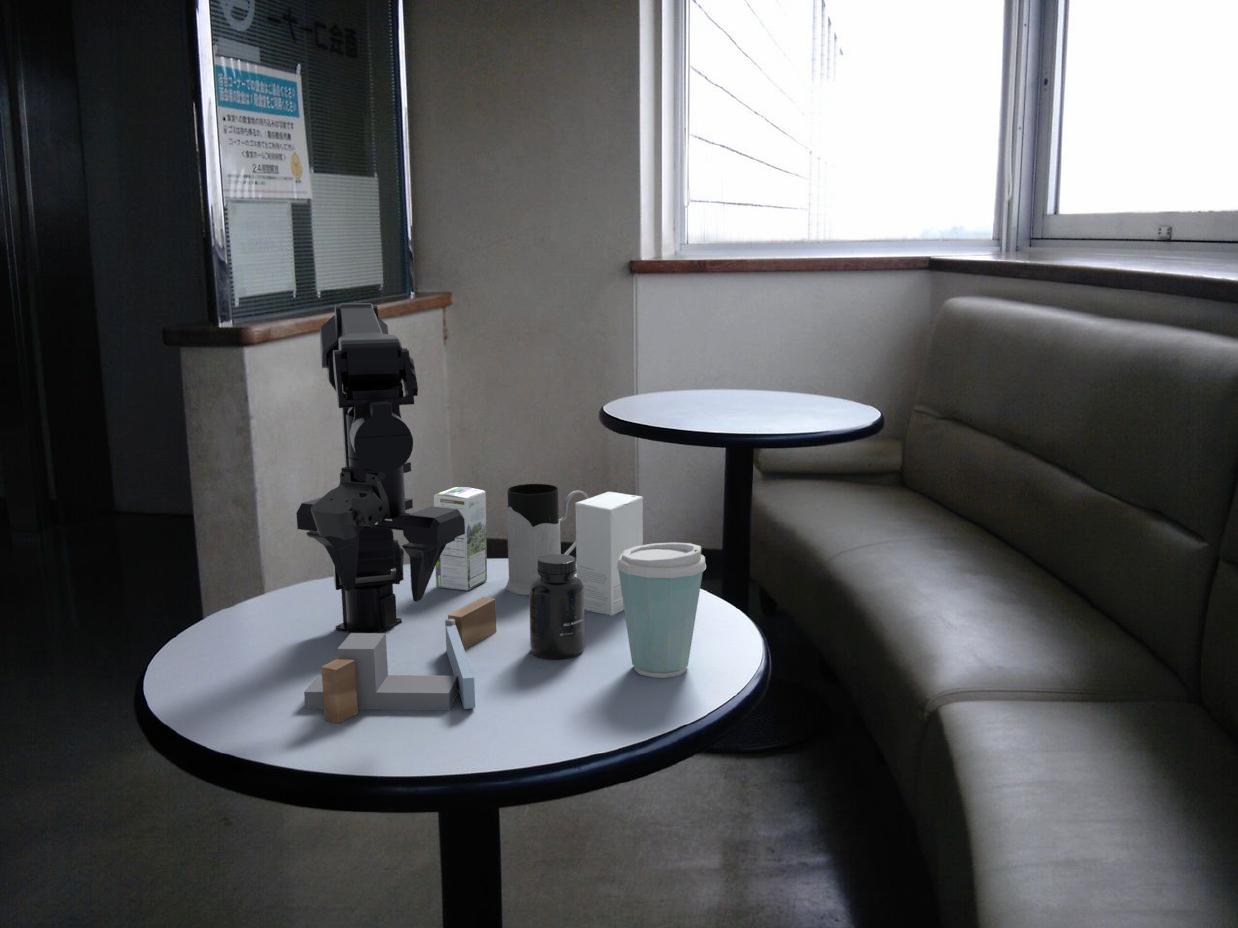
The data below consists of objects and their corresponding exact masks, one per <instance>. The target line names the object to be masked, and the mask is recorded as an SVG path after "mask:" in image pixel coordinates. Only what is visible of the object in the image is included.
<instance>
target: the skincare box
mask: <svg viewBox="0 0 1238 928" xmlns="http://www.w3.org/2000/svg"><path fill="white" fill-rule="evenodd" d="M574 504H575V541H576V547H575V552H576V553H575V559H576V569H577V573H576V577H577V578H578V579H580V580H581V582H582V583H583V585H584V611H588V612H592V613H596V614H602V615H606V616H610V617H612V616H615V615H617V614H619V613H620V612H623V611H624V604H623V598H622V591H621V584H620V577H619V570H618V569H617V565H618V559H619V556H620V554H622V553H623V552H624V550H627V549H630V548H632V547H635V546H640V545H644V544H643V543H644V541H643V540H644V539H643V537H644V530H643V527H644V526H643V525H644V523H643V520H644V517H643V516H644V515H643V512H644V511H643V509H644V508H643V506H644V496H641V495H635V494H634V495H633V494H627V493H626V494H625V493H621V492H615V491H614V492H613V491H606V492H604V493H603V492H602V493H600V494H598V495H595V496H592V497H589V499H586V498H585V499H583V500H580V501H577V502H575V503H574Z"/></svg>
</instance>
